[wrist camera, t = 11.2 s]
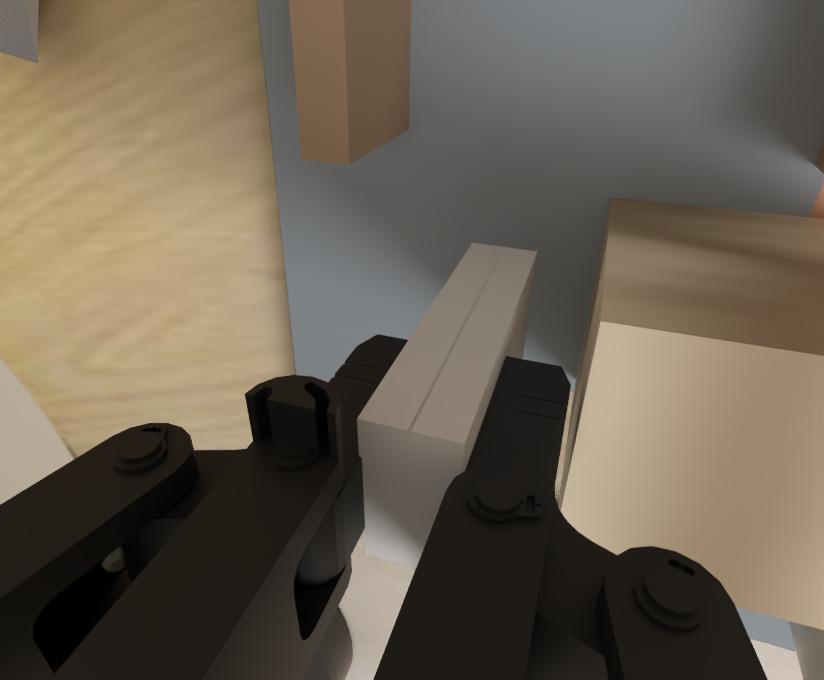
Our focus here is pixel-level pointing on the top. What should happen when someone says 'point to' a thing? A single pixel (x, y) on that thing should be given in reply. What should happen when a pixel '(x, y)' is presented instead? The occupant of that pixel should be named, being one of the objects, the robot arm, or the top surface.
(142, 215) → the top surface
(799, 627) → the grey stone cylinder
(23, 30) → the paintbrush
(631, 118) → the slate deck with cubby
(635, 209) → the maple cube
